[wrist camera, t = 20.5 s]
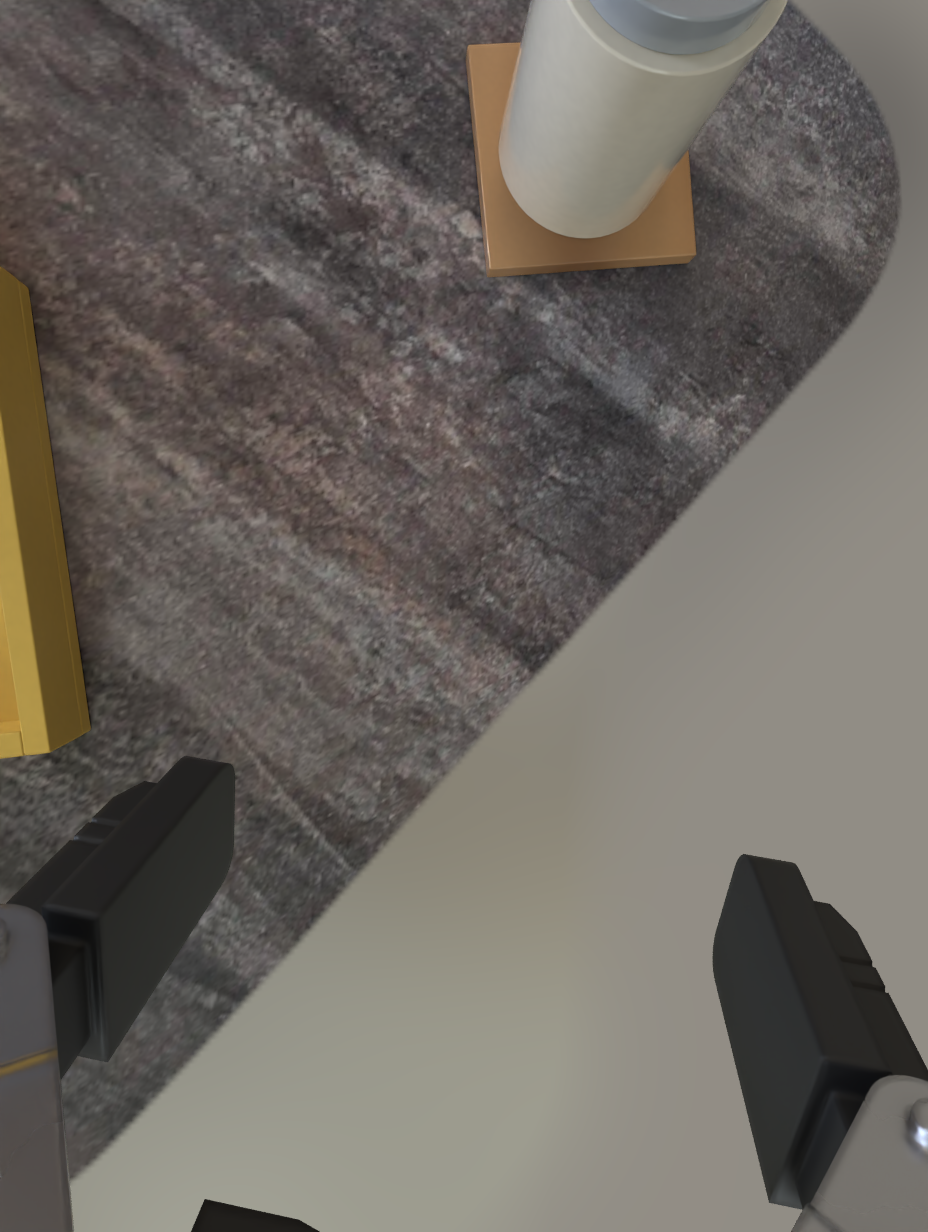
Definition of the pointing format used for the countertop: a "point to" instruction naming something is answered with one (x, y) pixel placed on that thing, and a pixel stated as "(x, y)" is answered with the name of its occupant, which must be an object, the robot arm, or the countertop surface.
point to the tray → (32, 556)
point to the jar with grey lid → (617, 101)
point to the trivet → (529, 245)
